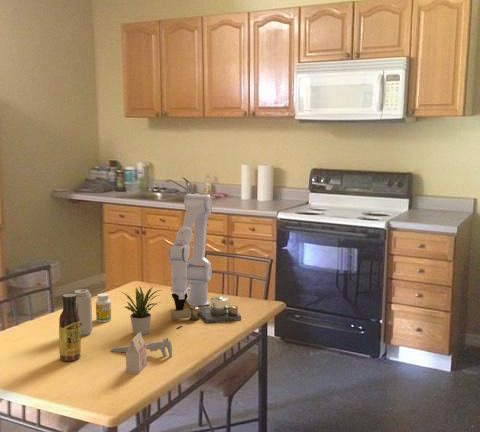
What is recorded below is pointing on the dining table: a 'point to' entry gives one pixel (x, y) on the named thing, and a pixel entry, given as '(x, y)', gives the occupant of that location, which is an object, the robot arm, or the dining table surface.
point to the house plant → (141, 311)
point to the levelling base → (216, 317)
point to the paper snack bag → (136, 355)
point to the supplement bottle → (103, 308)
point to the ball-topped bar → (186, 313)
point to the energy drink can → (84, 310)
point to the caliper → (151, 347)
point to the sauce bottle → (69, 330)
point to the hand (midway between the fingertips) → (179, 312)
